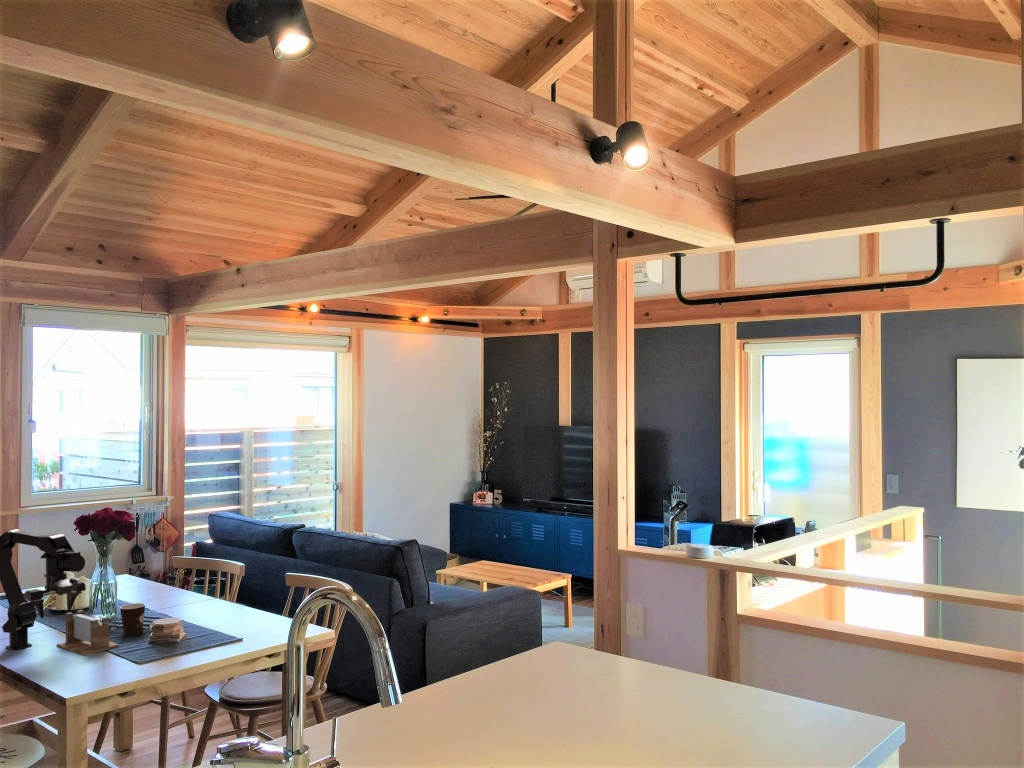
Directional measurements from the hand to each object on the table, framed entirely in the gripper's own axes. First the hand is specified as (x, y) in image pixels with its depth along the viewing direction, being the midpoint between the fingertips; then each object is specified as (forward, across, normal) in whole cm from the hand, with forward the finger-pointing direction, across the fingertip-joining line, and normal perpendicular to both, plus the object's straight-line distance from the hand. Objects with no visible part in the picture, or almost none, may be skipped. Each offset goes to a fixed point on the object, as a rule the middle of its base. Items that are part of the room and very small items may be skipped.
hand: (55, 615), depth 294 cm
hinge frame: (+12, +8, -6) cm, 16 cm away
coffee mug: (+12, +28, -3) cm, 31 cm away
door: (+10, +8, -6) cm, 14 cm away
